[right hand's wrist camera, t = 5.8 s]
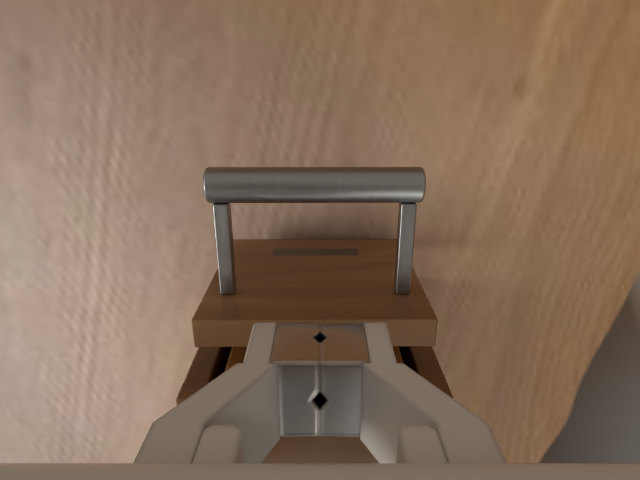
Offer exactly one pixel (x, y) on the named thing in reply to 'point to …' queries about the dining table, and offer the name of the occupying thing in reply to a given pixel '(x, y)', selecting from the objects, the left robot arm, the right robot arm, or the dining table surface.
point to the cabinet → (311, 447)
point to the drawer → (313, 259)
